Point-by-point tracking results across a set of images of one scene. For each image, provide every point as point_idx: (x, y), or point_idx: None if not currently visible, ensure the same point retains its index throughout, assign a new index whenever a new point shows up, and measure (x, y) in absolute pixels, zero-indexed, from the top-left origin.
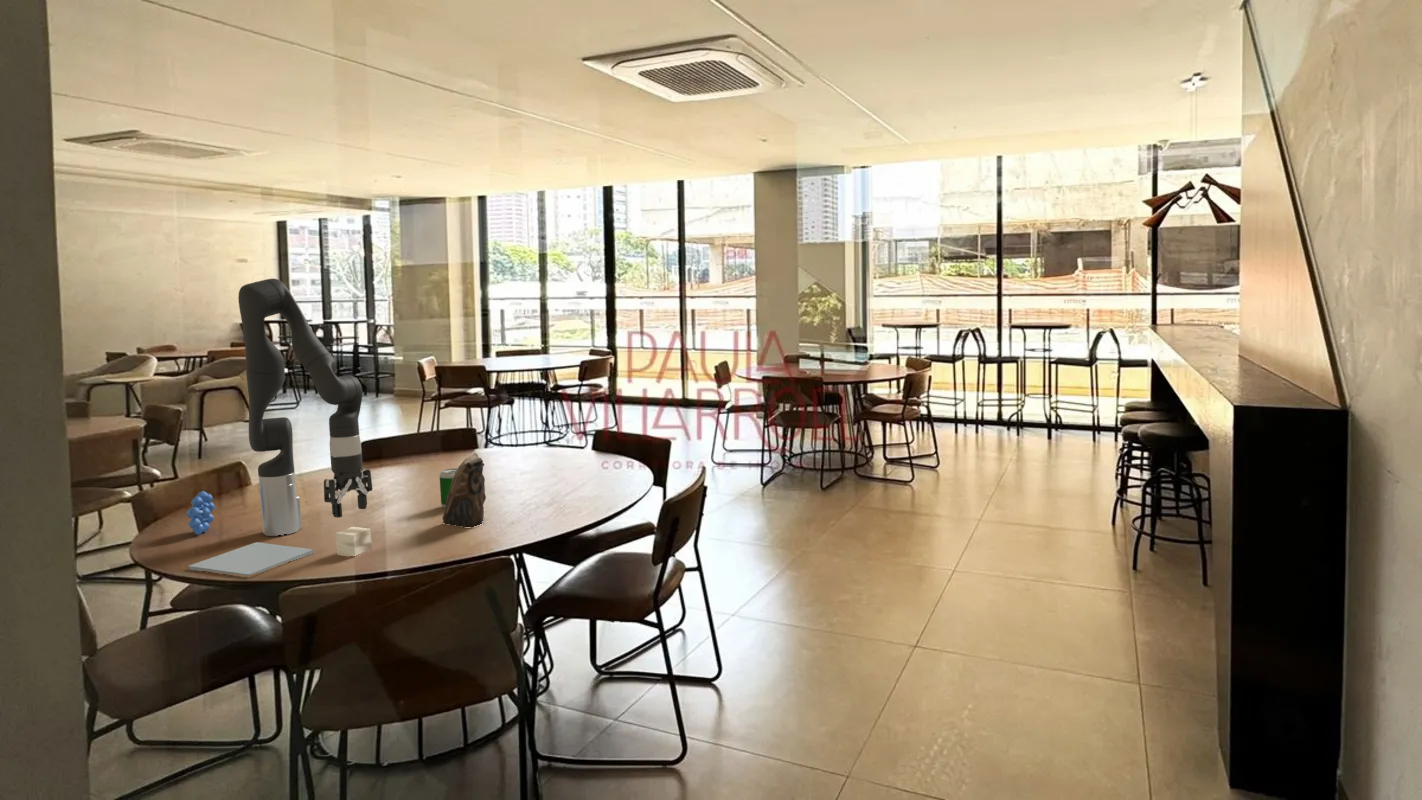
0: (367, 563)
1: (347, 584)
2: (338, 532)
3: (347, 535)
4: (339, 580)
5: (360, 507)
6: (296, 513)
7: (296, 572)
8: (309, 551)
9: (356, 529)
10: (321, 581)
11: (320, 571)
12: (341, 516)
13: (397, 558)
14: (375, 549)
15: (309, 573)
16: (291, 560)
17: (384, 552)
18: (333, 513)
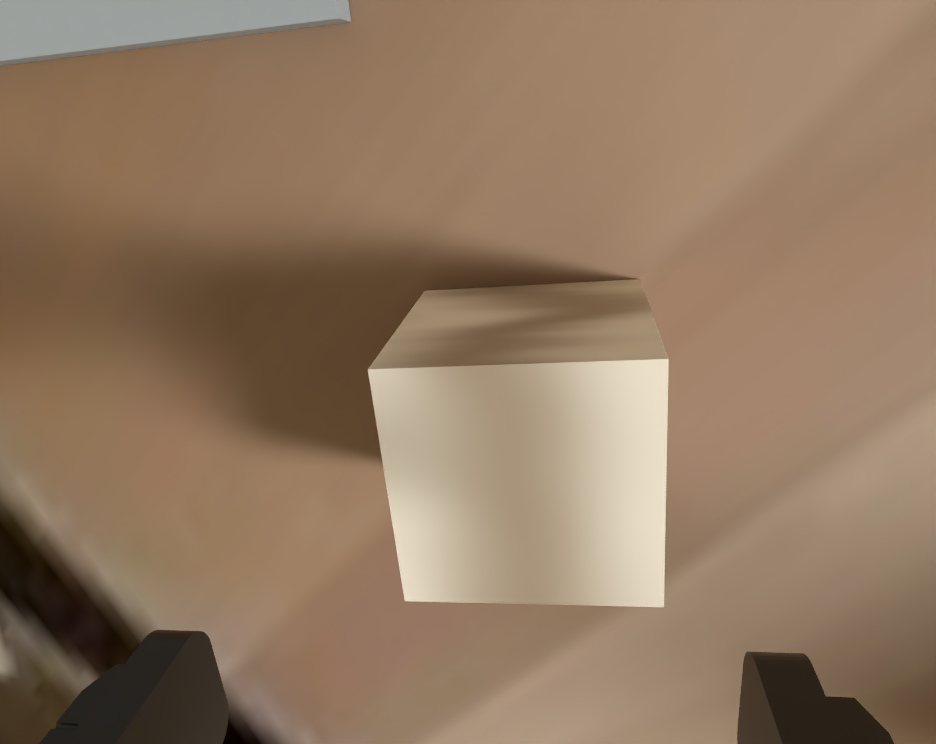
0: (385, 632)
1: None
2: (401, 381)
3: (396, 520)
4: None
5: (749, 705)
6: None
7: (5, 331)
8: (286, 27)
9: (583, 489)
10: (36, 597)
11: (120, 469)
12: (214, 731)
13: (547, 733)
14: None
15: (55, 432)
16: (82, 54)
17: None
18: (85, 713)
